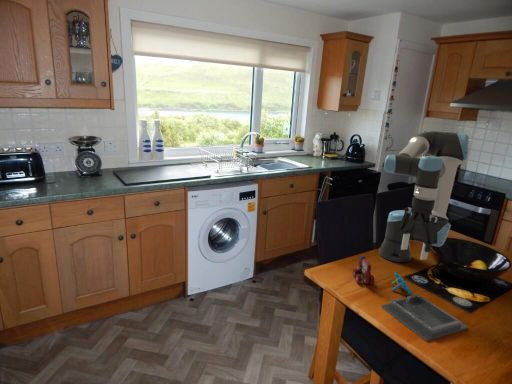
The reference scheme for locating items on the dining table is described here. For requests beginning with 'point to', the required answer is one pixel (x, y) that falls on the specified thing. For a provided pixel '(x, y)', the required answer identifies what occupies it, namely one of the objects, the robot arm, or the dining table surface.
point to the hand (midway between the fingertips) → (413, 253)
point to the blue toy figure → (401, 284)
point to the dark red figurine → (363, 272)
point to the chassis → (424, 317)
